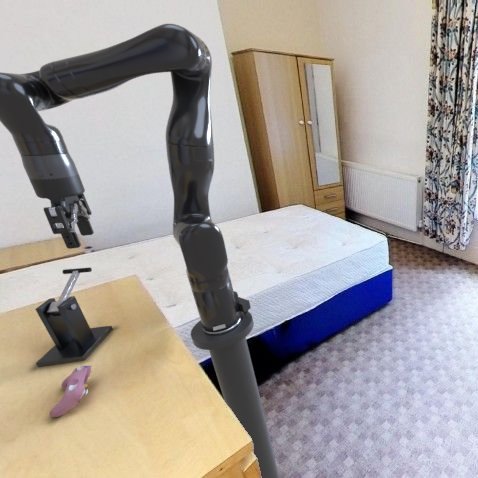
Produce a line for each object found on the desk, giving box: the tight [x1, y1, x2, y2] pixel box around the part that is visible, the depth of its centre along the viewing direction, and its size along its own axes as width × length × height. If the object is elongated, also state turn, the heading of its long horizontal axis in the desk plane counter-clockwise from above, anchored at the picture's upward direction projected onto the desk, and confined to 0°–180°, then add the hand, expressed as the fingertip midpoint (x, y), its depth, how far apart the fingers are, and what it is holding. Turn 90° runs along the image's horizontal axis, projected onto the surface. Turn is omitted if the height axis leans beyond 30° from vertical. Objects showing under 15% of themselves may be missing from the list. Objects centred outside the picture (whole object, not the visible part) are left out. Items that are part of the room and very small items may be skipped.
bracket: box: [34, 295, 114, 368], centre depth 80 cm, size 12×9×14 cm
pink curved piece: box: [49, 365, 92, 418], centre depth 68 cm, size 10×5×7 cm, turn 34°
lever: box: [47, 267, 93, 316], centre depth 81 cm, size 13×6×2 cm, turn 16°
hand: (81, 240), depth 77 cm, fingers open, 8 cm apart
